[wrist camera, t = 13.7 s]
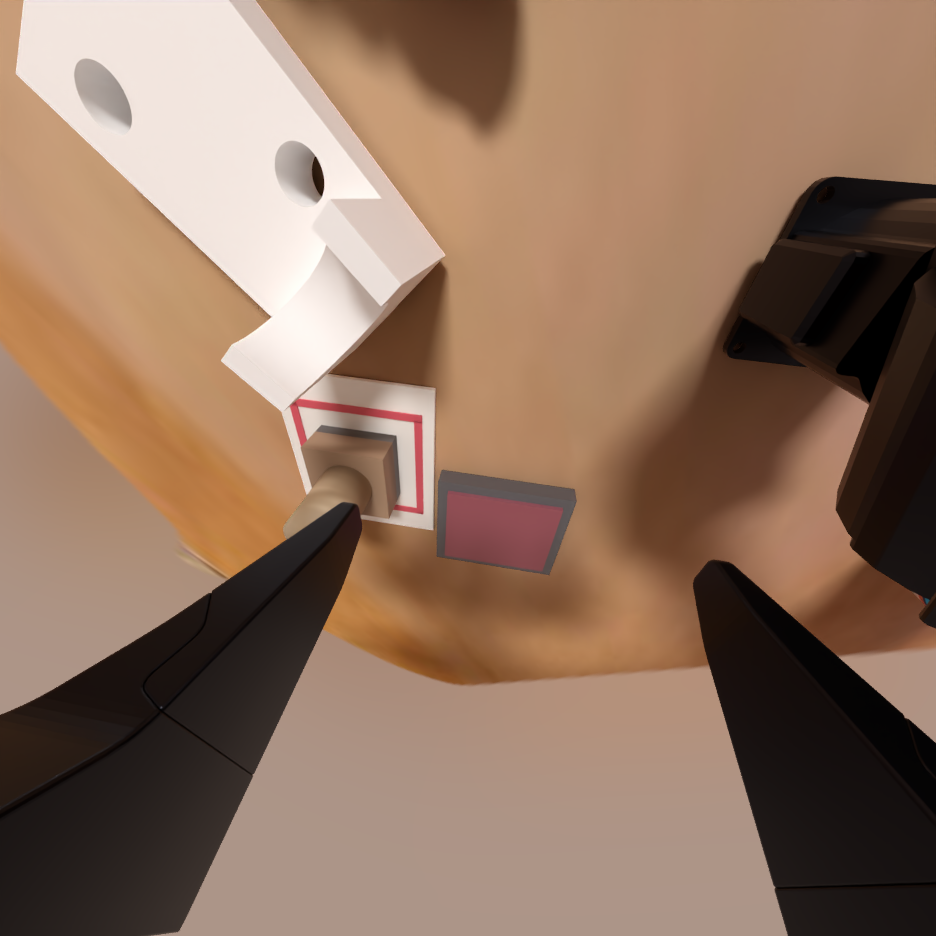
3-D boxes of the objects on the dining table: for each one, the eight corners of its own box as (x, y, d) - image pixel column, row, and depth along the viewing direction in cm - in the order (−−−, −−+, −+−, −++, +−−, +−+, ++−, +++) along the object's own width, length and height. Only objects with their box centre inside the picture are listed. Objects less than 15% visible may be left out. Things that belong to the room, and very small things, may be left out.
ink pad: (574, 489, 23) (576, 504, 22) (548, 562, 28) (549, 578, 27) (441, 469, 24) (437, 484, 22) (439, 544, 29) (435, 559, 27)
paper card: (435, 388, 20) (434, 391, 20) (433, 527, 27) (432, 531, 27) (271, 366, 21) (267, 369, 20) (313, 508, 28) (311, 511, 28)
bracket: (449, 252, 16) (401, 284, 10) (358, 347, 19) (282, 412, 13) (173, -122, 11) (-260, -508, 5) (115, 97, 14) (-178, 27, 8)
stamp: (396, 435, 22) (351, 513, 16) (400, 493, 25) (364, 575, 20) (321, 424, 22) (253, 498, 17) (334, 483, 25) (280, 560, 20)
